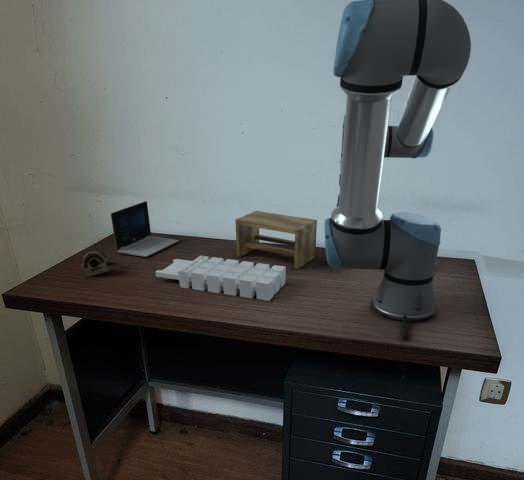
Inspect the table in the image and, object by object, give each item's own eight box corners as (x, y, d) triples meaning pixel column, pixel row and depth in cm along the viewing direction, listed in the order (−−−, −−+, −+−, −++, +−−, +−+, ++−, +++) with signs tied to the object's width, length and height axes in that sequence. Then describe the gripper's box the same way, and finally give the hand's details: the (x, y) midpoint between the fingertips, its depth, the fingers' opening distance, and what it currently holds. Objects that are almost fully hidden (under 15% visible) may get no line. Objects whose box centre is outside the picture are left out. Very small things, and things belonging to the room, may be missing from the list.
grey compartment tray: (268, 284, 128) (152, 267, 139) (268, 301, 130) (154, 283, 142) (285, 266, 138) (176, 252, 150) (285, 282, 141) (177, 267, 152)
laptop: (146, 258, 159) (141, 217, 152) (116, 252, 164) (109, 213, 157) (179, 242, 173) (175, 204, 166) (150, 237, 178) (146, 200, 171)
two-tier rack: (297, 269, 150) (298, 230, 144) (236, 256, 160) (235, 219, 154) (315, 257, 158) (317, 220, 152) (256, 246, 169) (255, 210, 163)
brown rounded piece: (67, 259, 143) (96, 254, 140) (89, 241, 153) (117, 236, 150) (78, 281, 147) (106, 277, 144) (99, 262, 157) (126, 258, 154)
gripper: (357, 164, 152) (351, 231, 163) (322, 179, 134) (318, 254, 145) (381, 166, 149) (373, 235, 160) (347, 182, 131) (342, 259, 142)
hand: (347, 244), depth 153 cm, fingers open, 13 cm apart
